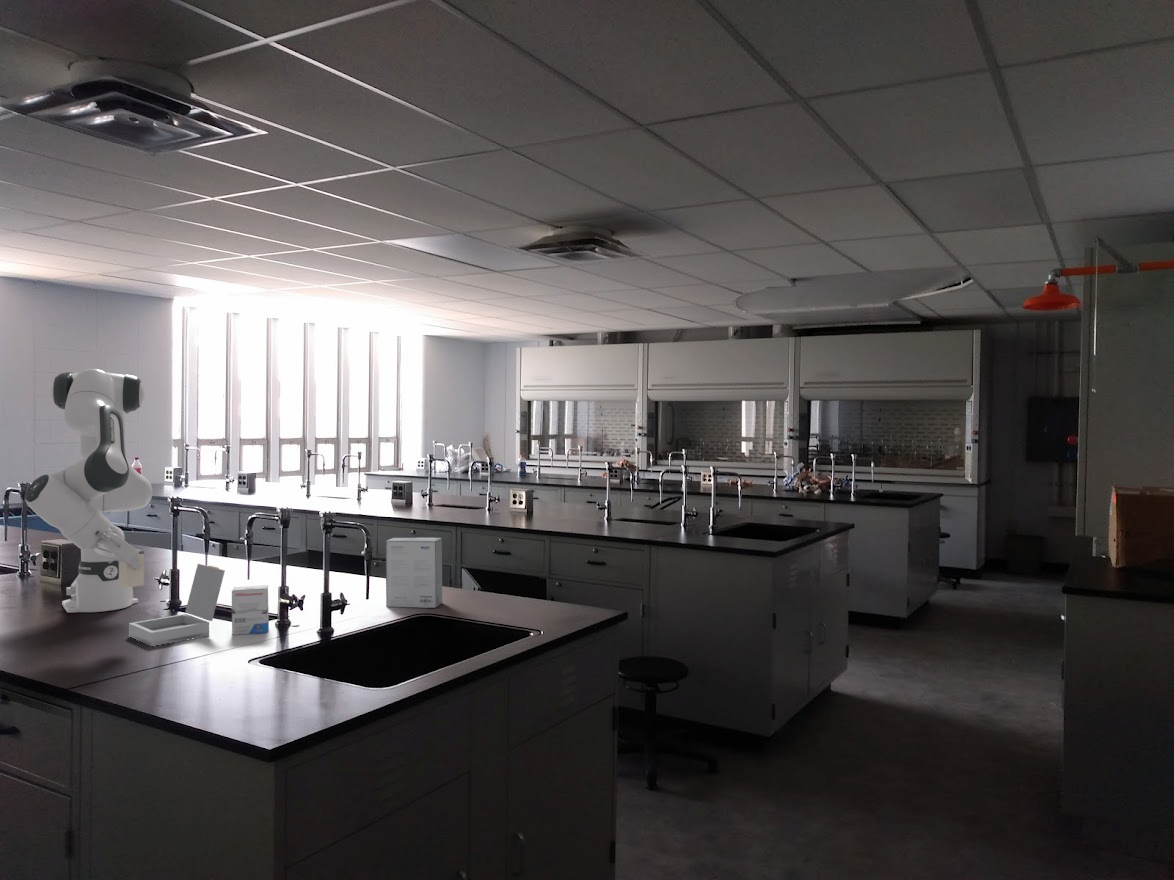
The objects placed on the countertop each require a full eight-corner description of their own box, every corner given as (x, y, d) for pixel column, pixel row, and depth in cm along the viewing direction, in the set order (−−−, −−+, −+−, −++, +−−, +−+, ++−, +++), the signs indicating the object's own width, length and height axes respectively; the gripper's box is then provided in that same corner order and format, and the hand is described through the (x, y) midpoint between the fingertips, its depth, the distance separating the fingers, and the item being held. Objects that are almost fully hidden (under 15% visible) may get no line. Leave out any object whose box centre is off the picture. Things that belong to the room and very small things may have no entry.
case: (128, 637, 209) (128, 623, 209) (185, 626, 219) (185, 613, 219) (151, 647, 200) (151, 632, 199) (209, 635, 210) (209, 622, 210)
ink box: (269, 628, 218) (269, 584, 218) (267, 633, 213) (267, 588, 213) (234, 630, 216) (234, 586, 215) (231, 635, 211) (231, 589, 211)
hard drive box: (443, 603, 250) (443, 537, 249) (436, 608, 242) (436, 541, 242) (393, 601, 251) (393, 536, 251) (384, 607, 244) (384, 540, 243)
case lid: (197, 563, 222) (203, 563, 223) (185, 612, 219) (191, 612, 220) (222, 569, 212) (227, 570, 214) (209, 620, 210) (215, 621, 211)
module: (118, 584, 203) (118, 550, 203) (136, 582, 206) (136, 548, 206) (126, 587, 200) (126, 552, 200) (144, 585, 203) (143, 550, 203)
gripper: (116, 524, 191) (160, 561, 198) (85, 516, 204) (128, 551, 212) (95, 545, 188) (141, 582, 195) (65, 536, 201) (109, 570, 209)
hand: (134, 566), depth 204 cm, fingers closed on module, 5 cm apart
